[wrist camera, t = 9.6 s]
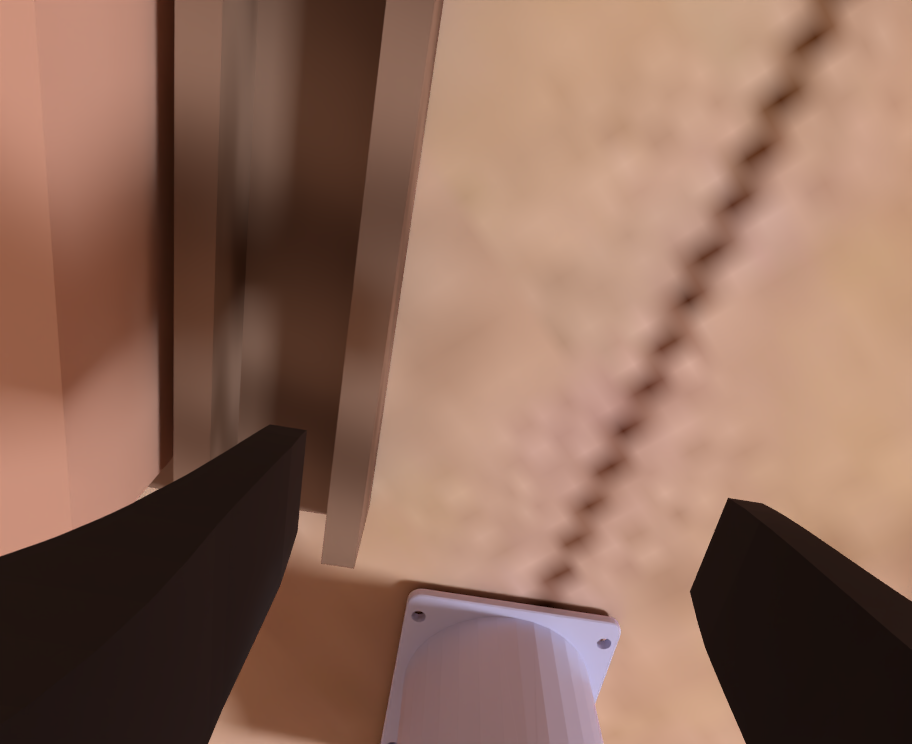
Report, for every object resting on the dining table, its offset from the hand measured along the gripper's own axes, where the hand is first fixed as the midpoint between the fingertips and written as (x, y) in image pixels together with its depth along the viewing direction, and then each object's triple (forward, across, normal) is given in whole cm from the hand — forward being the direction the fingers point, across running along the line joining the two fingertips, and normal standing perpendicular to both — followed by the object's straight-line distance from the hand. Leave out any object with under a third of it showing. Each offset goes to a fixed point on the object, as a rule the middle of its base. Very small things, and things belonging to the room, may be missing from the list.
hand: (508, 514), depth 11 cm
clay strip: (+9, +10, -3) cm, 14 cm away
